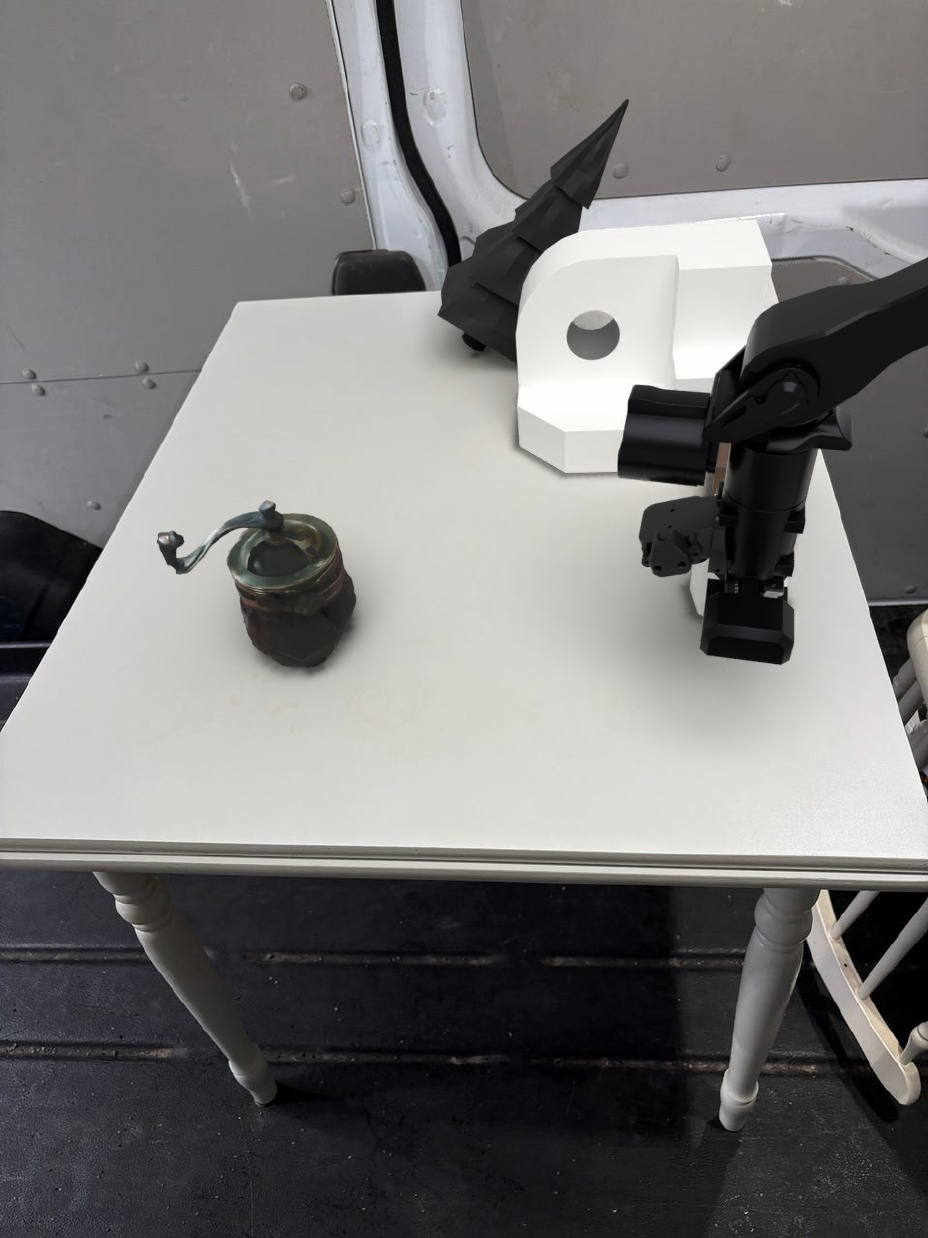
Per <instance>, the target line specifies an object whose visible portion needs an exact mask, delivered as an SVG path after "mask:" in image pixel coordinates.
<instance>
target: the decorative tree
mask: <svg viewBox="0 0 928 1238" xmlns="http://www.w3.org/2000/svg"><path fill="white" fill-rule="evenodd" d="M629 104H630V99H628V98H625V100H624V101H623V102H622V103H621V104H620V105H619V106H618V107H617V108H616V109H615V110H614V112H612V113H611V114H610V115H609V116H608V118H607V119H606V120H604V122H602V123H601V124H600V126H598V127H597V128H596V129H595V130H594V131H592V132H591V133H590V134H589V135H588V136H586V138H584V139H583V140H581V141H580V142H579V143H578V144H576V145H575V146H574V147H573V148H572V149H570V150H569V151H568V152H567V153H565V154H564V155H563V156H561V158H560V159H558V160H557V161H555V163H554V164H552V165H551V166H550V169H549V173H550V178H549V179H548V180H547V181H546V182H544V183H543V184H542V185H541V186H540V187H539V188H537V190H536V191H535V192H534V193H533V194H532V195H531V196H530V197H529V198H528V199H527V200H525V201H524V202H523V203H522V204H520V205H519V206H517V207H516V208H514V213H515V215H514V218H513V220H511V221H509V222H506V223H503V224H500V225H497V226H494V227H490V228H488V229H486V230H485V231H484V232H482V233H480V234H479V235H477V237H475V243H474V248H473V251H472V254H471V256H468V257H467V258H466V259H463V260H462V261H460V262H458V263H456V264H454V265H451V266H449V267H447V269H446V274H445V277H444V279H443V284H442V287H441V290H440V299H441V305H440V307H439V310H438V312H437V315H436V316H437V317H439V318H441V319H442V320H444V321H445V322H447V323H449V324H450V325H452V326H454V327H455V328H457V329H458V330H460V331H461V332H463V333H462V335H461V340H462V342H464V344H465V345H466V346H467V347H468V348H470V349H471V350H473V351H476V352H479V353H481V352H484V351H485V349H486V347H487V348H488V349H491V350H492V351H493V352H495V353H497V354H498V355H500V356H502V357H504V358H505V359H507V360H509V361H511V362H512V363H514V364H516V365H518V364H517V347H516V329H517V321H518V313H519V305H520V299H521V293H522V288H523V284H524V282H525V279H526V277H527V275H528V273H529V271H530V269H531V267H532V265H533V264H534V263H535V262H536V261H537V260H538V258H539V257H540V256H541V255H542V254H543V253H544V251H545V250H547V249H548V248H550V247H551V246H552V245H554V244H555V243H557V242H558V241H560V240H561V239H563V238H565V237H568V236H570V235H573V234H576V233H579V232H580V231H579V230H580V227H581V226H580V225H581V220H582V214H583V208H585V209H586V210H587V211H589V210H590V207H591V205H592V203H593V201H594V198H595V197H596V195H597V193H598V190H599V188H600V185H601V181H602V179H603V175H604V173H605V170H606V167H607V164H608V161H609V157H610V155H611V152H612V149H613V147H614V144H615V141H616V139H617V136H618V133H619V132H620V129H621V126H622V125H621V124H622V121H623V119H624V116H625V114H626V112H627V109H628V106H629Z"/></svg>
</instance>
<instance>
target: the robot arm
mask: <svg viewBox="0 0 928 1238" xmlns="http://www.w3.org/2000/svg"><path fill="white" fill-rule="evenodd" d="M927 348H928V256H927V257H924V258H923V259H921V260H919V261H917V262H914V263H912V264H910V265H908V266H905V267H904V268H902V269H900V270H897V271H895V272H894V273H893V272H892V273H891V274H889V275H887V276H883V277H880V278H877V279H874V280H870V281H866V282H863V283H862V282H861V283H851V284H850V283H849V284H837V285H829V286H826V287H823V288H819V289H816V290H813V291H810V292H807V293H804V294H801V295H797V296H795V297H792V298H788V299H785V300H782V301H780V302H777V303H774V304H773V305H771V306H770V307H768V308H767V309H765V311H764V312H762V313H761V314H760V315H759V317H758V318H757V319H756V320H755V322H754V324H753V326H752V328H751V331H750V333H749V336H748V338H747V344H746V345H745V346H744V347H743V348H742V349H741V350H740V351H739V352H738V353H737V354H735V355H734V356H733V357H732V358H731V359H730V360H729V361H728V362H727V363H726V364H725V365H724V366H723V367H722V368H721V369H720V370H719V371H718V372H716V374H715V378H714V382H713V386H712V391H711V393H705V392H693V391H681V390H668V389H661V388H658V387H655V386H650V385H638V384H635V385H634V386H633V387H632V390H631V393H630V396H629V399H628V406H627V416H626V421H625V426H624V432H623V439H622V442H621V445H620V448H619V451H618V461H617V471H618V472H617V477H618V478H619V479H624V480H634V481H643V482H650V483H660V484H668V485H669V484H670V485H677V486H685V487H686V486H687V487H695V488H697V487H698V486H699V487H704V486H705V482H706V475H707V474H709V475H710V474H711V475H714V474H715V472H716V467H717V461H718V456H719V450H720V443H730V449H729V455H728V462H727V468H726V474H725V476H724V480H723V481H719V483H718V484H717V489H716V495H714V496H711V495H706V496H700V495H692V496H688V497H687V496H686V497H682V498H681V497H680V498H677V499H671V500H666V501H665V500H664V501H661V502H656V503H653V504H650V505H648V506H647V507H646V508H644V510H643V512H642V516H641V522H640V527H639V532H638V540H639V543H640V546H641V548H640V550H641V552H642V556H641V560H640V561H641V566H643V567H644V568H650V570H651V573H652V574H653V575H654V576H655V577H658V578H668V577H675V576H681V575H682V576H683V575H687V574H688V573H689V572H691V571H692V567H693V565H694V564H700V563H702V562H704V561H706V560H707V559H708V558H709V563H708V571H707V572H709V573H714V574H715V575H716V576H717V577H718V578H719V579H711V578H708V579H707V589H706V599H705V605H704V612H703V616H702V621H701V628H700V629H701V630H700V639H699V650H700V651H701V652H702V653H703V654H704V655H706V656H707V657H708V656H710V657H716V658H725V659H731V660H732V659H733V660H737V661H738V660H739V661H746V662H754V663H761V664H770V665H776V666H777V665H778V666H782V665H785V664H786V663H787V662H789V661H790V660H791V656H792V653H793V649H794V646H795V608H794V607H792V605H791V604H789V601H788V599H789V597H788V596H789V590H788V589H789V586H787V587H785V586H784V580H785V579H786V578H787V577H789V578H793V575H794V570H795V557H794V552H793V551H794V547H795V543H796V539H797V535H798V534H800V535H803V534H804V531H805V527H806V501H807V498H808V494H809V489H810V485H811V482H812V476H813V473H814V470H815V466H816V460H817V457H818V453H819V450H822V451H823V450H825V451H834V452H849V451H851V450H852V448H853V445H854V444H853V443H854V442H853V441H854V440H853V439H854V437H853V436H854V418H853V416H852V414H850V413H849V412H847V411H846V410H845V409H844V408H842V407H841V406H842V405H843V404H844V403H846V402H848V401H850V400H852V399H853V398H855V397H857V396H858V395H860V394H861V393H862V392H863V391H864V390H865V389H867V388H868V387H869V386H870V385H871V384H872V383H873V382H874V381H876V380H877V379H878V378H879V377H880V376H882V375H883V374H884V373H885V372H886V371H887V370H888V369H889V368H890V367H892V366H893V365H895V364H897V363H898V362H900V361H902V360H904V359H905V358H907V357H908V356H910V355H912V354H914V353H917V352H919V351H921V350H924V349H927ZM710 394H711V395H710Z"/></svg>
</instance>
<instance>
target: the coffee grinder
mask: <svg viewBox="0 0 928 1238" xmlns="http://www.w3.org/2000/svg"><path fill="white" fill-rule="evenodd" d="M276 508H277V504H276V503H275V502H273V501H270V500H268V499H266V500H264V501H263V502H262V503H261V504H260V505H259V507H258V510H255V511H247V512H243V513H240V514H238V515H236V516H233V517H232V518H229V519H228V520H227V521H225V522H223V524H222V525H220V526H219V527H218V528H216V529H214V530H213V531H212V532H210V533H209V535H207V536H206V537H205V538H204V540H203V541H202V543H200V544H199V546H198V547H197V548H195V549H194V550H193V551H192V552H191V553H189V554H188V555H186V556H183V557H177V550H178V548H180V547H182V546H183V545H184V544H185V538H184V536H183V535H181V534H179V533H178V532H176V531H175V530H169V531H161V532H158V533H157V540H156V544H157V545H158V548H159V552H160V553H161V554H162V558H163V559H164V561H165V564H166V565H167V566H169V567H170V566H171V567H172V568H173V569H174V570H175V575H178V576H179V575H185V574H189V573H190V572H191V571H193V569H194V568H195V567H196V566H198V563H200V562H201V561H202V560H203V559H204V558H205V556H206V555H207V554H208V551H210V549H211V548H212V547H213V546H214V545H215V544H216V543H217V542H219V540H220V539H222V538H223V537H225V536H227V535H228V534H229V533H231V532H233V531H236V530H238V529H245V530H243V531H241V533H240V535H239V536H238V537H237V538H236V540H235V542H234V544H233V545H231V547H230V548H229V549H228V555H226V559H225V561H226V566H227V568H228V570H229V573H230V576H231V578H232V579H233V581H234V584H235V588H236V591H237V593H238V595H239V605H240V613H241V615H242V617H243V623H244V626H245V629H246V634H247V636H248V638H249V639H250V641H251V643H252V645H253V647H254V648H256V650H258V651H259V652H261V653H263V654H264V655H265V656H267V657H270V658H271V659H272V660H273V661H275V662H276V663H278V664H280V665H282V666H286V667H305V668H312V667H315V666H317V665H319V664H321V663H322V664H323V663H324V662H325V661H326V659H327V657H329V656H330V655H331V654H332V652H333V651H334V650H335V648H336V646H337V644H338V643H339V641H340V640H341V639H342V636H343V634H344V633H345V632H346V630H347V628H348V627H349V624H350V621H351V619H352V617H353V614H354V611H355V608H356V605H357V600H358V599H357V595H356V591H355V585H354V580H353V578H352V577H351V575H349V573H348V572H347V570H346V567H345V564H344V558H343V553H342V550H341V546H340V543H339V539H338V536H337V534H336V533H335V532H336V531H335V530H334V529H333V527H332V526H331V525H330V524H329V523H328V522H326V521H325V520H323V519H321V518H319V517H316V516H314V515H312V514H308V513H296V512H295V513H294V512H292V513H290V512H289V513H285V512H284V513H281V512H280V511H277V509H276Z"/></svg>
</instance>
